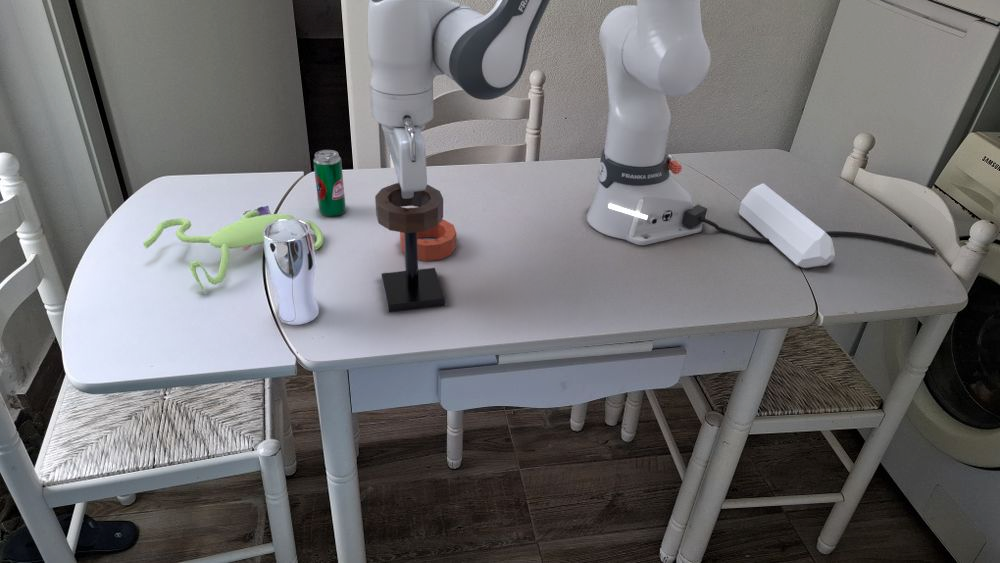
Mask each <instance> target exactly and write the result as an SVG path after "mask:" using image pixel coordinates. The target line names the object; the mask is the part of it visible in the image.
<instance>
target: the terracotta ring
mask: <svg viewBox="0 0 1000 563" xmlns="http://www.w3.org/2000/svg"><path fill="white" fill-rule="evenodd" d="M423 238H432V239H423ZM399 243H400V248H401V251H402V254H404V255H405V243H404V233H402V232H399ZM417 244H418V261H424V262H431V261H439V260H442V259H446V258H447V257H449V256H452V254H453V253H454V252H455V249H456V248H457V230H456V227H455V226H454V224H453V223H451V222H449V221H448V220H446V219H444V218H442V220H441V221H440V223H439V224H438V226H436V227H433V228H431V229H429V230H427V231H424V232H417Z"/></svg>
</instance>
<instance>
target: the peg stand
mask: <svg viewBox="0 0 1000 563" xmlns="http://www.w3.org/2000/svg"><path fill="white" fill-rule="evenodd" d="M404 243H405V254H404V264H405V266H404V267H405V270H401V271H392V272H391V271H390V272H383V273H381V284H382V288H383V293H384V297H385V303H386V307H387V311H388V312H387V313H397V312H403V311H404V312H405V311H413V310H421V309H430V308H438V307H439V308H440V307H445V306H446V297H445V294H444V291H443V288H442V285H441V282H440V279H439V276H438V273H437V270H436V267H429V268H419V260H418V244H417V232H414V233H404Z"/></svg>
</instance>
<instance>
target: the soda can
mask: <svg viewBox="0 0 1000 563" xmlns="http://www.w3.org/2000/svg"><path fill="white" fill-rule="evenodd" d="M312 162H313V163H312V164H313V169H314V170H313V172H314V180H315V187H316V188H315V189H316V195H317V203H318V204H317V205H318V211H319V213H320V214H321V215H322V216H325V217H328V218H329V217H331V218H333V217H339V216H342V215H343V214H344V212H346V210H347V205H346V196H345V186H344V185H345V184H344V175H343V166H342V165H343V164H342V163H343V162H342V157H340V155H339V152H338V151H336V150H332V149H322V150H319V151H316V152H315V153H314V158H313V160H312Z"/></svg>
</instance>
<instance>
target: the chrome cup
mask: <svg viewBox="0 0 1000 563" xmlns="http://www.w3.org/2000/svg"><path fill="white" fill-rule="evenodd" d="M305 221H306V220H302V219H299V218H296V219H281V220H277V221H274V222H271V223H269V224H268V225H266V226H265V227H264V229H263V232H262V233H263V242H264V243H263V251H264V258H265V263H266V268H267V270H268V273H269V276H270V278H271V281H272V284H273V286H274V288H275V291H276V295H277V299H278V314H277V315H278V318H279V320H280V321H281V322H282V323H284V324H285V325H290V326H300V325H302V326H303V325H305V324H308V323H311V322H312V321H314V320H316V318H317V317H318V316H319V313H320V308H319V304H318V302H317V301H318V300H317V299H316V295H315V277H316V253H315V251H316V250H314V240H313V236H312V233H311V228H310V226H309V224H308V223H306V222H305Z"/></svg>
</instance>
